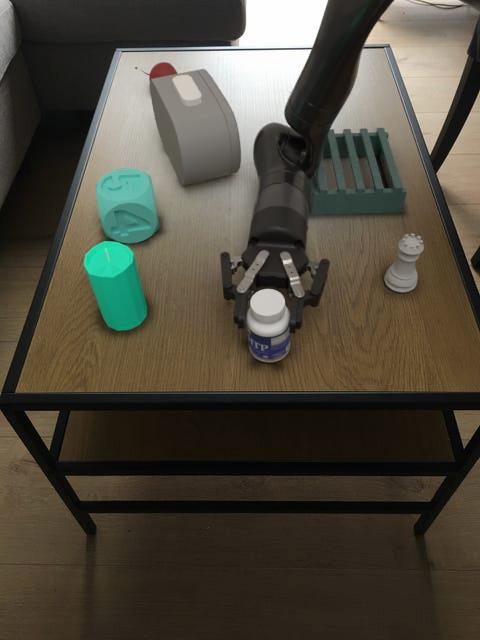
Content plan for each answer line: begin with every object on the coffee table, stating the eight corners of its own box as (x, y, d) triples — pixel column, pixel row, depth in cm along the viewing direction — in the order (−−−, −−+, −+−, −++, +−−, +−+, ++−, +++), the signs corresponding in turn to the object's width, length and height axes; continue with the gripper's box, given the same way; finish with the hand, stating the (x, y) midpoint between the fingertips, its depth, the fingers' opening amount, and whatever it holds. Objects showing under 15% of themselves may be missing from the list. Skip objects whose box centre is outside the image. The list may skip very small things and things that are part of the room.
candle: (100, 302, 74) (77, 238, 65) (143, 292, 75) (126, 227, 66) (106, 335, 71) (83, 272, 61) (151, 324, 72) (135, 260, 62)
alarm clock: (243, 188, 89) (241, 113, 78) (187, 201, 87) (178, 126, 77) (206, 123, 101) (200, 51, 90) (157, 134, 99) (145, 62, 89)
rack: (383, 152, 94) (388, 127, 90) (401, 212, 84) (408, 187, 80) (303, 154, 94) (305, 129, 90) (311, 214, 84) (314, 190, 81)
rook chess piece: (377, 275, 76) (388, 233, 70) (405, 267, 77) (418, 224, 71) (394, 298, 73) (406, 256, 67) (422, 289, 74) (437, 246, 68)
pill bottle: (240, 345, 68) (234, 300, 61) (271, 322, 70) (269, 276, 63) (268, 371, 66) (265, 327, 59) (299, 347, 67) (300, 302, 60)
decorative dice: (161, 239, 82) (153, 197, 75) (108, 248, 81) (96, 206, 75) (156, 206, 87) (148, 164, 80) (106, 213, 86) (94, 171, 79)
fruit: (161, 92, 112) (136, 59, 107) (183, 78, 110) (159, 44, 105) (158, 108, 109) (132, 75, 103) (181, 94, 106) (156, 59, 101)
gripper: (224, 200, 69) (201, 301, 59) (336, 207, 68) (334, 311, 58) (227, 243, 75) (207, 341, 65) (330, 250, 74) (327, 351, 63)
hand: (266, 326), depth 61 cm, fingers closed on pill bottle, 5 cm apart
